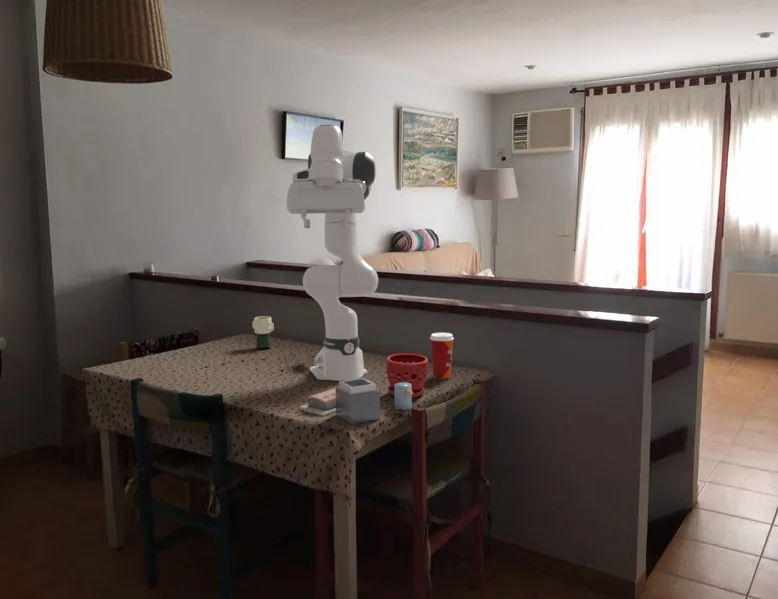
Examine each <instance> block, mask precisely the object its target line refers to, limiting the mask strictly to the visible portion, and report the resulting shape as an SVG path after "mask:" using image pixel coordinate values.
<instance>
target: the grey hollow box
mask: <svg viewBox="0 0 778 599" xmlns="http://www.w3.org/2000/svg"><path fill="white" fill-rule="evenodd" d="M337 387H338V388H337ZM337 387H335V388H336V412H335V416H337V417H338V418H340V417H341V418H340V419H342V420H343V419H344V421H345V420H346V421H347V422H346V421H345V422H346V423H348V422H349V423H348V424H349V425H351V424H353V425H357V423H358V424H361V423H368V422H373V421H378V420H381V391H379V390H378V389H377V384H376V383H374V382H373V381H370V380H368V379H366V378H365V377H360V378H358V379H353V380H345V381H338V386H337Z"/></svg>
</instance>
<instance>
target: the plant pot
mask: <svg viewBox="0 0 778 599" xmlns="http://www.w3.org/2000/svg"><path fill="white" fill-rule="evenodd" d="M407 362H408V363H407ZM428 371H429V358H428V357H426V356H424V355H422V354H417V353H394V354H391V355H388V356H387V358H386V377H387V380H388V383H389V386H388V387H387V391H388V392H389V394H390V395H391V396H394V397H395V384H396V383H401V382H405V383H410V384H411V385H412V392H413V395H412V399H414V398H418V397H420V396H422V395H423V394H424V393H425V387H424V386H425V383H426V380H427V376H428V375H427V374H428ZM417 396H418V397H417Z"/></svg>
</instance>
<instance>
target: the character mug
mask: <svg viewBox="0 0 778 599" xmlns="http://www.w3.org/2000/svg"><path fill="white" fill-rule="evenodd" d="M251 325H252V329H253V330H254V334H256V335H257V336H256V345H255V346H256V348H257V349H266V348H267V349H268V348H272V341H271V336H270V333H272V331H274V330H275V329H274V328H275V327H274V323H273V322H272V317H271V316H267V315H266V316H265V315H264V316H256V317H254V318H253V321H252V324H251Z"/></svg>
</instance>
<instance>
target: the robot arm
mask: <svg viewBox="0 0 778 599" xmlns="http://www.w3.org/2000/svg"><path fill="white" fill-rule="evenodd" d="M376 176H377V165H376V162H375V158H374V157H373V155H372V154H370V153H369V152H368V151H359V152H354V151H351V150H348V149H347V148H346V147H345V146H344V141H343V133H342V129H341V128H340V127H338V126H337V125H334V124H320V125H318V126H316V127H314V129H313V131H312V137H311V142H310V152H309V155H308V157H307V169H303V170H301V171H297V172H294V173H292V177H291V178H292V183H291V184H290V186H289V187H288V191H287V196H286V197H287V198H286V209H287V211H288V212H289V214H291V215H293V214H294V215H295V214H296V215H300V218H301V219H302V221H303V227H304V229H311V219H307V214H310V215H311V214H324V247H325V250H326V251H327V252H328V253H330V254H331V255H333V256H335V257H337V258H339V259H341V260H342V264H334V265H333V264H331V265H330V264H323V265H317V266H316V265H315V266H311V267H308V268H307V269H306V270H305V272H304V275H303V277H302V285H303V289H304V290H305V293H306V294H307V295H309V296H310V297H312V298H313V299H314V300H315V301H316V302H317V304H319V306H320V308H321V310H322V312H323V316H324V324H325V336H324V339H323V347H322V348H321V350H320V351H319V352H318V353H317V354H316V357H314V358H313V360H314V363H313V364H315V365H314V366H311V367H310V368H309V371H310V372H311V374H313V376H314V377H315V378H316V379H317V380H320V381H322V380H324V381H338V382H340V381H346V380H353V379H359V378H363V376H364V375H365V374H367V373H368V370H367V369H366V368H365V367H364V366H365V365H364V357H363V356H364V354H363V351H362V349H361V348H360V336H359V335H358V316H357V313H356V312H355V310H353V309H352V308H350V307H349V306H346V305H344V304H342V303H341V301H340V299H339V298H355V297H356V298H359V297H365V296H369V295H370V296H371V295H373V294H374V293H375V292H376V290H377V288H378V287H379V286H378V285H379V276H378V273H377V271H376V270H375V268H373V267H372V266H371V265H369V264H368V263H367V262H366V260H364V258H363V257H362V255H361V253H360V251H359V247H358V238H357V237H358V236H357V216H356V214H362V213H364V212H365V208H366V204H365V200H366V199H367V198H368V197H369V196H370V192H371V191H372V186H373V184H374V182H375V179H376Z"/></svg>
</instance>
